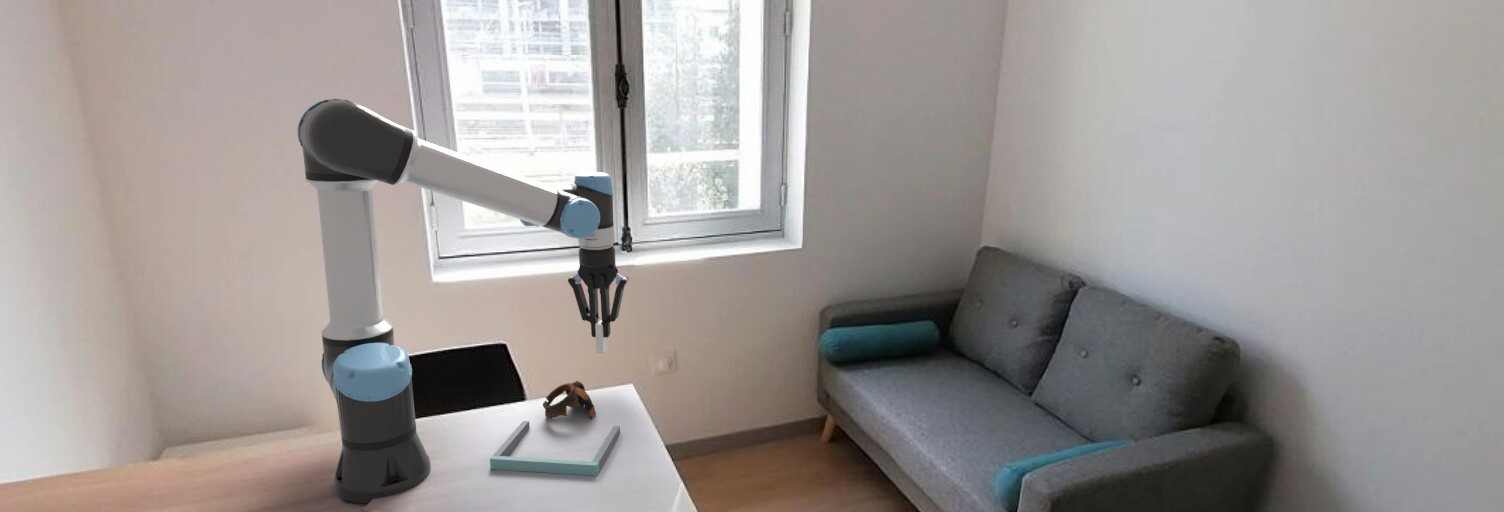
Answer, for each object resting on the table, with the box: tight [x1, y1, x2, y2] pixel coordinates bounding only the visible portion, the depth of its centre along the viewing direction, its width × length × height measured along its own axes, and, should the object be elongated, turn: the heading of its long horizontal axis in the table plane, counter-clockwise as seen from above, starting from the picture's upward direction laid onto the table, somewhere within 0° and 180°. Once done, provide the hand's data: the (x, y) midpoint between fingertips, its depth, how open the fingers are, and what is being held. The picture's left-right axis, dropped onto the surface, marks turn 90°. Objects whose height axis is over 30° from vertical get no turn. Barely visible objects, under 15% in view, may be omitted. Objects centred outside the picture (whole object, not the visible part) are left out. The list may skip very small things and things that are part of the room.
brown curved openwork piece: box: [542, 380, 597, 420], centre depth 160 cm, size 12×9×8 cm
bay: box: [489, 420, 621, 477], centre depth 146 cm, size 19×16×2 cm
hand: (601, 350), depth 171 cm, fingers closed
